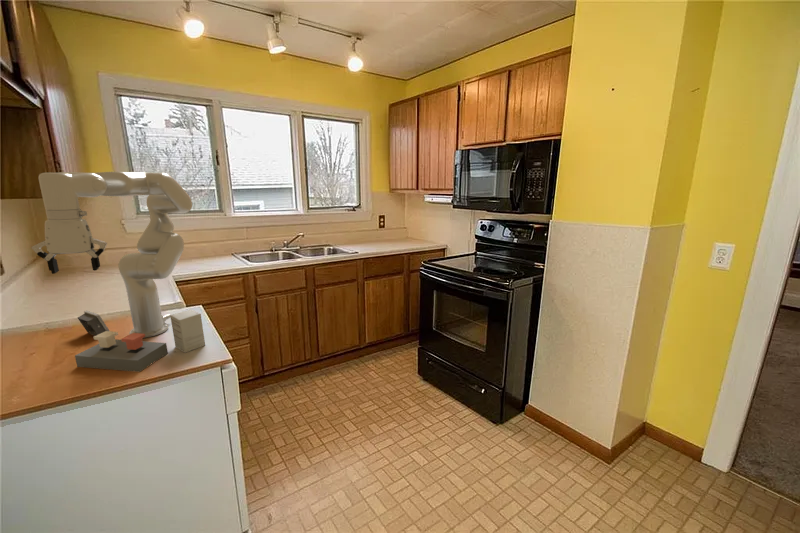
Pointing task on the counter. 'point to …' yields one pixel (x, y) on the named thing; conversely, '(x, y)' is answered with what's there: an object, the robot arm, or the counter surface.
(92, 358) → the plug panel
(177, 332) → the supplement box
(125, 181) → the robot arm
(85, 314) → the electrical switch
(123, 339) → the red plug
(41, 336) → the counter surface
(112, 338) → the ivory plug
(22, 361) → the counter surface
